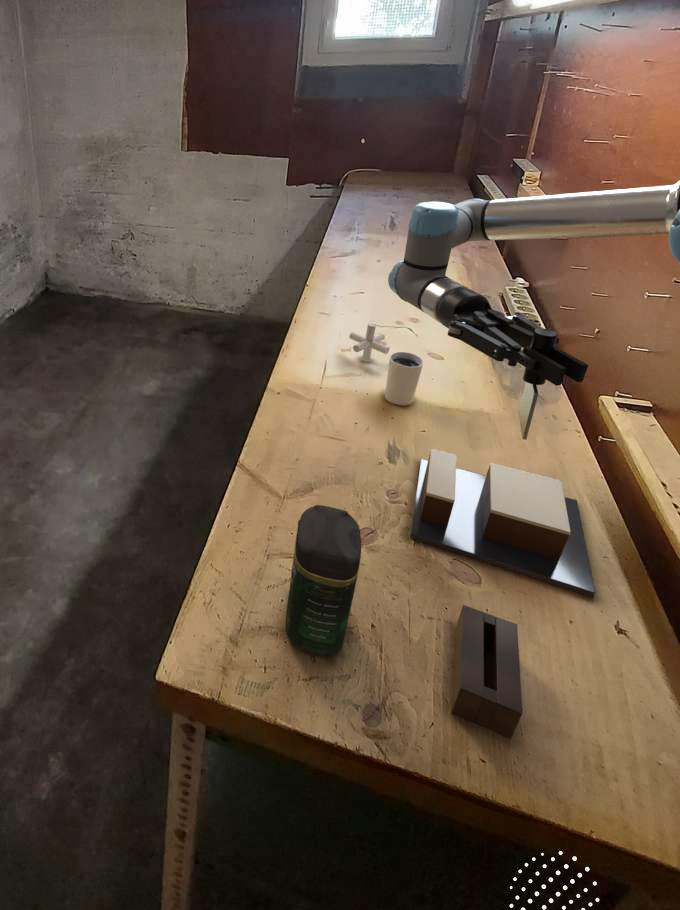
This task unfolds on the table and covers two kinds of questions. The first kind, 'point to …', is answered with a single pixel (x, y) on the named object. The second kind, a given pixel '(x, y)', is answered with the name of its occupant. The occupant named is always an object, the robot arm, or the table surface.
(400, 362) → the white cup
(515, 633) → the knife block
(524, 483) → the cake
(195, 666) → the table surface
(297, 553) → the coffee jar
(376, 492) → the table surface
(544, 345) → the knife
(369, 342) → the pipe connector
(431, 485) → the cake slice
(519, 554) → the cake board
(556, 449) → the table surface
